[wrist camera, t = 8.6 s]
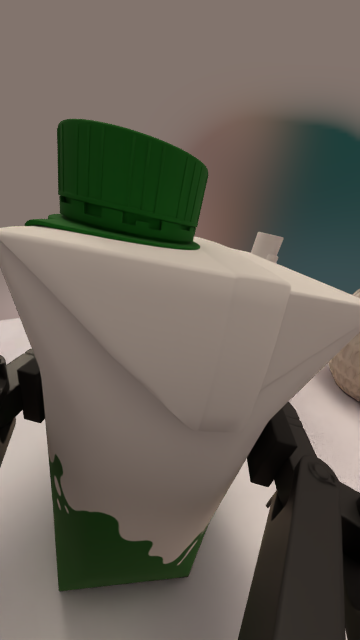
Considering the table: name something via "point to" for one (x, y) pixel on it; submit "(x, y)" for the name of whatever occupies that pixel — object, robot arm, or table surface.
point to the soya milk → (153, 352)
